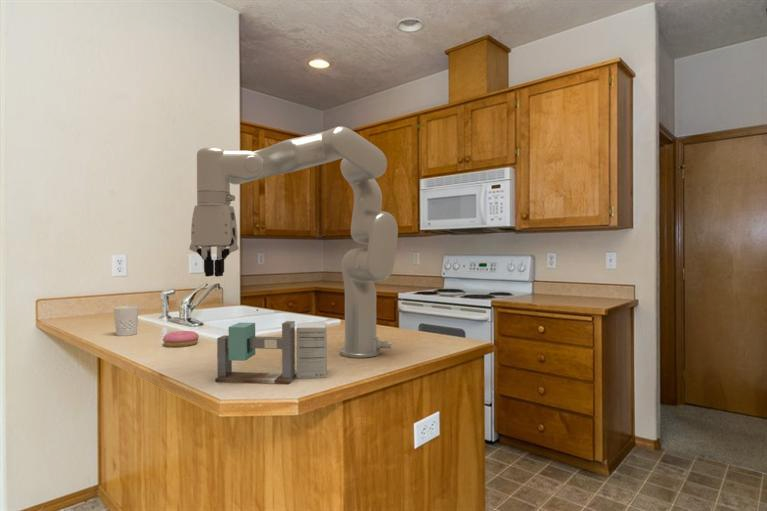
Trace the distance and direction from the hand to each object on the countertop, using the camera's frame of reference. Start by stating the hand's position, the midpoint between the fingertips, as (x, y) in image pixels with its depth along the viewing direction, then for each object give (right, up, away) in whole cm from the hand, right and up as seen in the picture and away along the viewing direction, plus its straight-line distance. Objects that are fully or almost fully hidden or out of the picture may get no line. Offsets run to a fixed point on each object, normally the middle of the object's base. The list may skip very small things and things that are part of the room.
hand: (214, 275), depth 115 cm
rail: (+10, -25, -1) cm, 27 cm away
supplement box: (+23, -25, +4) cm, 35 cm away
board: (+10, -25, -1) cm, 27 cm away
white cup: (-53, -24, +58) cm, 82 cm away
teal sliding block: (+7, -17, 0) cm, 18 cm away
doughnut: (-26, -25, +41) cm, 54 cm away
